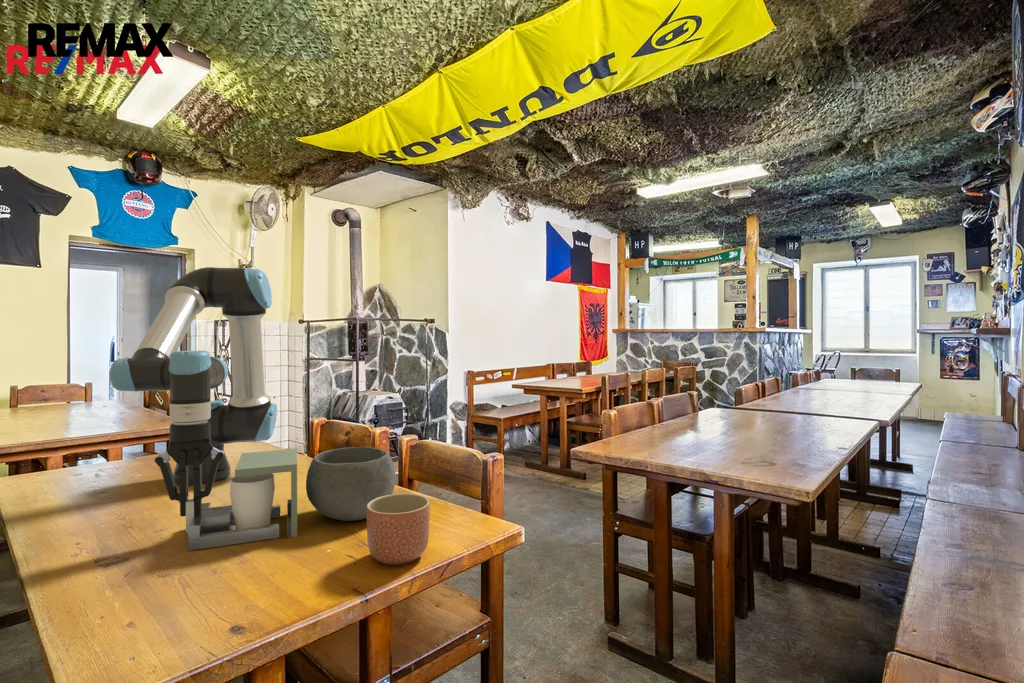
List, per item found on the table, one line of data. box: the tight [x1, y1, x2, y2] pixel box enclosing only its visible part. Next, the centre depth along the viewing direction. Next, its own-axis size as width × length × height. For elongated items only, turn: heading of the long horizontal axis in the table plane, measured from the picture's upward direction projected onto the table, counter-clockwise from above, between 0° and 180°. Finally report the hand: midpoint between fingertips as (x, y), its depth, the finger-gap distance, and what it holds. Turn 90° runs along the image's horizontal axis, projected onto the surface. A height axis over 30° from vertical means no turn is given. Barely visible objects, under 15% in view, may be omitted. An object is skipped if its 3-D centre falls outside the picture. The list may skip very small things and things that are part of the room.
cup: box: [229, 473, 276, 530], centre depth 114 cm, size 9×9×12 cm
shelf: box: [234, 448, 298, 539], centre depth 115 cm, size 16×12×16 cm
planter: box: [365, 493, 431, 566], centre depth 100 cm, size 12×12×11 cm
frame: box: [187, 502, 281, 551], centre depth 113 cm, size 15×17×5 cm
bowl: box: [305, 446, 397, 522], centre depth 124 cm, size 21×21×15 cm
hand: (191, 529), depth 109 cm, fingers closed
